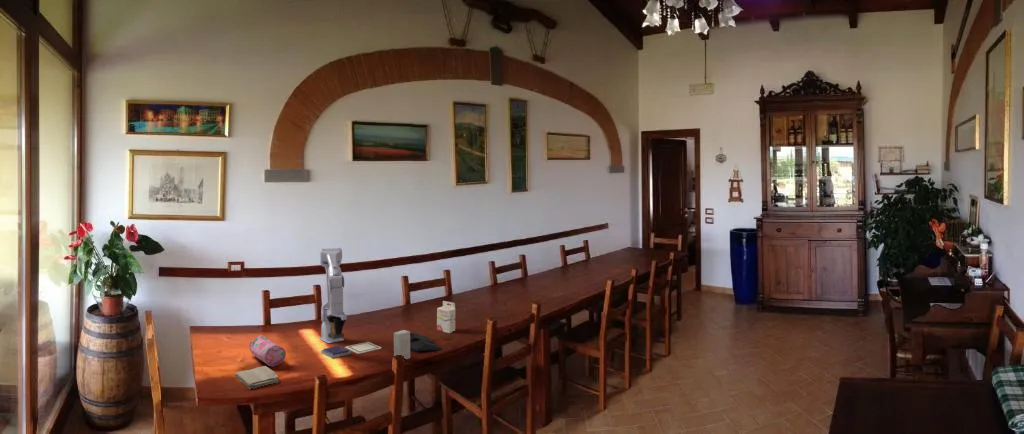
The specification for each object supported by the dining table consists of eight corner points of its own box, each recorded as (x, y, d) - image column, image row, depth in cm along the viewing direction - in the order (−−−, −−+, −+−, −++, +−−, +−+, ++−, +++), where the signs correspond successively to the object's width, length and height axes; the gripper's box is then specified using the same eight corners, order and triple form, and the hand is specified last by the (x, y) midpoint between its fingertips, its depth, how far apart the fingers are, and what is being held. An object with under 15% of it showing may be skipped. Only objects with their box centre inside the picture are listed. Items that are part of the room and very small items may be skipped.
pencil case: (248, 356, 261) (248, 335, 260) (270, 352, 266) (269, 332, 266) (264, 369, 244) (263, 348, 243) (286, 365, 250) (286, 344, 249)
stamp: (328, 336, 265) (327, 322, 264) (338, 334, 269) (338, 320, 268) (333, 339, 261) (333, 324, 261) (344, 337, 265) (343, 322, 264)
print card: (345, 347, 274) (345, 346, 274) (368, 342, 282) (368, 341, 282) (358, 354, 265) (358, 352, 265) (381, 348, 274) (381, 347, 274)
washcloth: (250, 391, 222) (249, 383, 222) (233, 377, 235) (233, 370, 235) (281, 383, 230) (281, 375, 230) (264, 371, 243) (264, 363, 243)
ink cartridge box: (436, 330, 304) (436, 302, 303) (442, 328, 309) (442, 300, 307) (449, 333, 300) (449, 304, 299) (455, 331, 304) (455, 302, 303)
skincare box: (404, 356, 264) (404, 329, 263) (410, 358, 261) (410, 331, 260) (393, 359, 259) (393, 332, 258) (399, 361, 256) (399, 334, 255)
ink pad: (321, 352, 266) (321, 348, 266) (340, 348, 272) (339, 344, 272) (332, 358, 259) (332, 354, 259) (350, 354, 265) (350, 350, 265)
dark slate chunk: (411, 355, 266) (411, 345, 266) (396, 342, 286) (396, 332, 285) (443, 350, 274) (443, 340, 273) (426, 338, 293) (426, 328, 293)
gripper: (320, 301, 266) (320, 330, 267) (335, 307, 256) (336, 338, 257) (335, 298, 271) (335, 327, 272) (350, 304, 261) (351, 335, 262)
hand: (336, 332), depth 265 cm, fingers closed on stamp, 4 cm apart
